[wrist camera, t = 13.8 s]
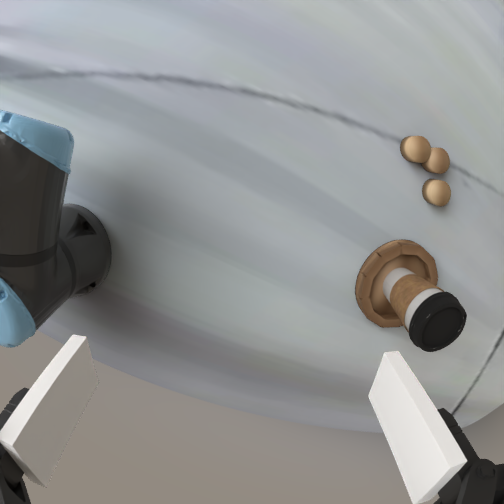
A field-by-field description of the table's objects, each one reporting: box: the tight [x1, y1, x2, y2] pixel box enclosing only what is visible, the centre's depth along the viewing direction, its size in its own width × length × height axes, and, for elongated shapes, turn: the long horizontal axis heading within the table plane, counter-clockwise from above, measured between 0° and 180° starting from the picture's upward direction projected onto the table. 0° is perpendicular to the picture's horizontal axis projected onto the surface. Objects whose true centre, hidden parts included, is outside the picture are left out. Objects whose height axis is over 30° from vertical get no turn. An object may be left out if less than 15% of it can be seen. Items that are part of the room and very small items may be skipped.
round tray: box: [355, 240, 438, 327], centre depth 46 cm, size 15×15×2 cm
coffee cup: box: [383, 268, 467, 352], centre depth 39 cm, size 8×8×15 cm
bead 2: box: [421, 148, 450, 174], centre depth 39 cm, size 4×4×3 cm
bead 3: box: [422, 179, 451, 206], centre depth 41 cm, size 4×4×3 cm
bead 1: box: [400, 136, 431, 163], centre depth 39 cm, size 4×4×3 cm
